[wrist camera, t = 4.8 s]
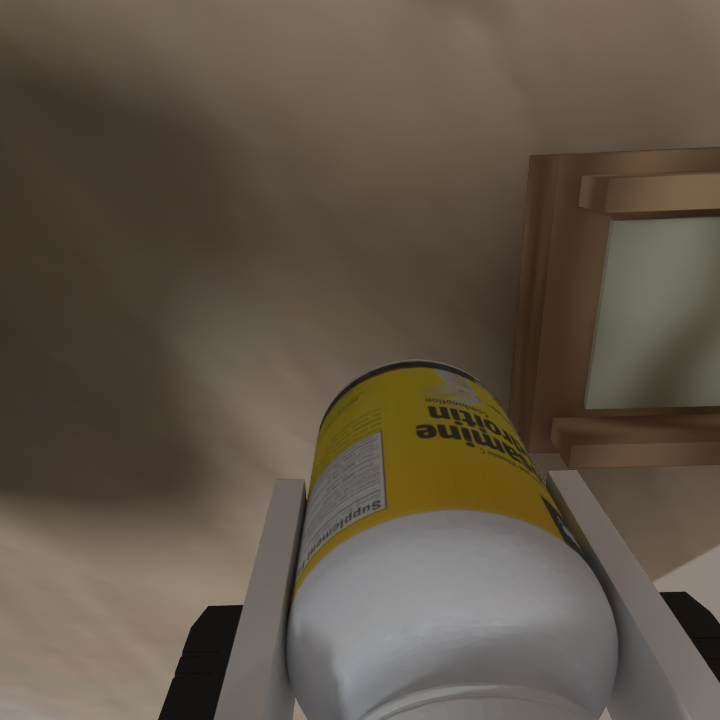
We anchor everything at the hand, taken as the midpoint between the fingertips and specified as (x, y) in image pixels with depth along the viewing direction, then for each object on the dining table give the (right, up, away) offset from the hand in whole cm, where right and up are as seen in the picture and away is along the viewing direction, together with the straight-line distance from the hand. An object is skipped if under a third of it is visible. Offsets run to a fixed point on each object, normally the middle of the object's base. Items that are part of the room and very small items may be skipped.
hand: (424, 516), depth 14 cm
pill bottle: (0, +2, +4) cm, 4 cm away
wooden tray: (+14, +8, +12) cm, 20 cm away
